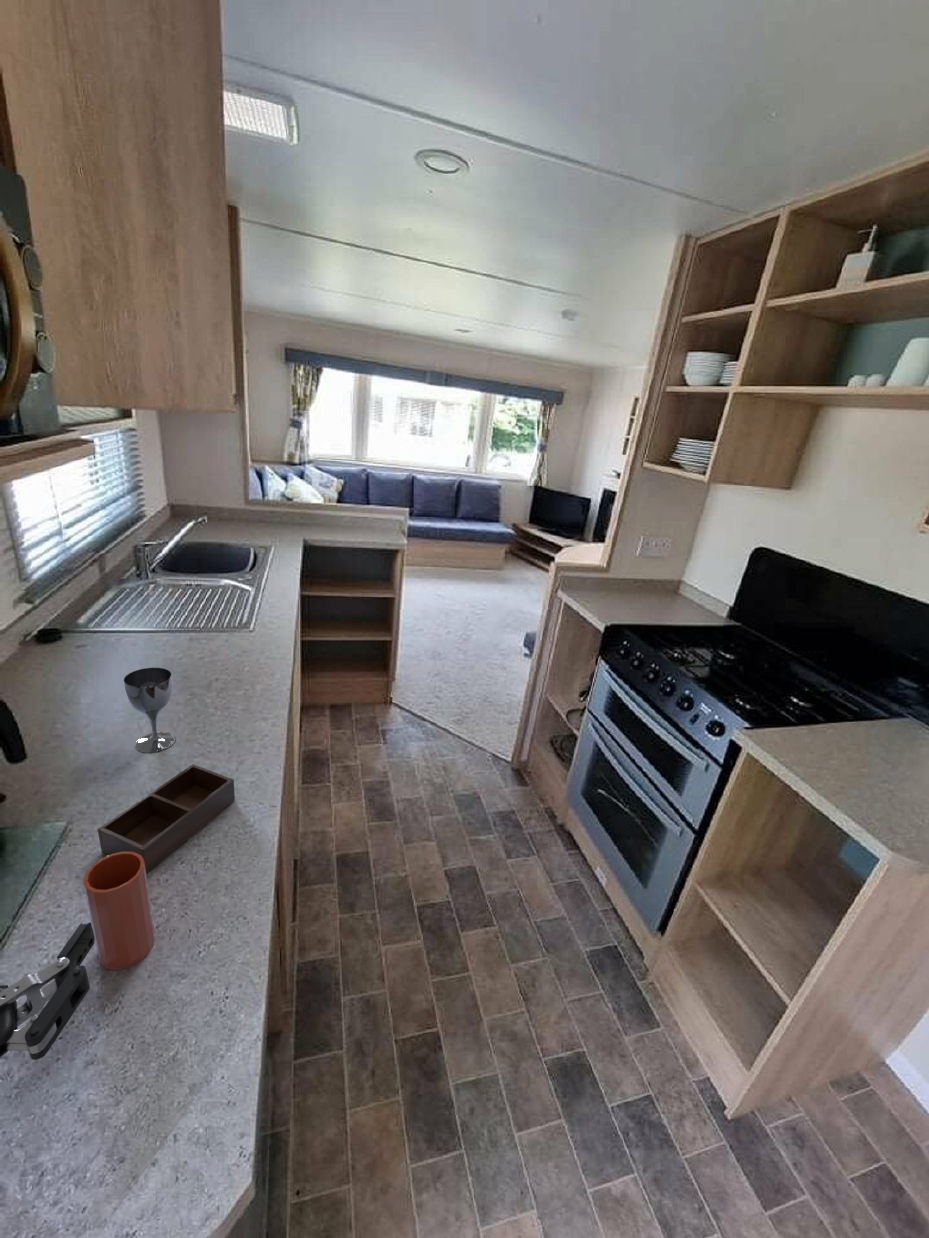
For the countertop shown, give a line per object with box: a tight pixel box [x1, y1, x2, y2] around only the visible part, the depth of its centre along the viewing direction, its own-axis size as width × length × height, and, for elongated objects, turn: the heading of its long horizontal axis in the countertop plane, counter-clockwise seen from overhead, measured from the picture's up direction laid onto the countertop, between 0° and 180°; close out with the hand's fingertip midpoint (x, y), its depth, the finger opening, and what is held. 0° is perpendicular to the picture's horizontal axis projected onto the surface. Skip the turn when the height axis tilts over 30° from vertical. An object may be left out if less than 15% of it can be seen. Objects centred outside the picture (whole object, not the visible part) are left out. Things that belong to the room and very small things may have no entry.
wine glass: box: [123, 667, 174, 754], centre depth 102 cm, size 8×8×15 cm
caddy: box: [97, 763, 236, 874], centre depth 85 cm, size 9×18×5 cm, turn 160°
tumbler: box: [82, 851, 156, 971], centre depth 64 cm, size 6×6×13 cm
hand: (41, 926), depth 49 cm, fingers open, 8 cm apart
